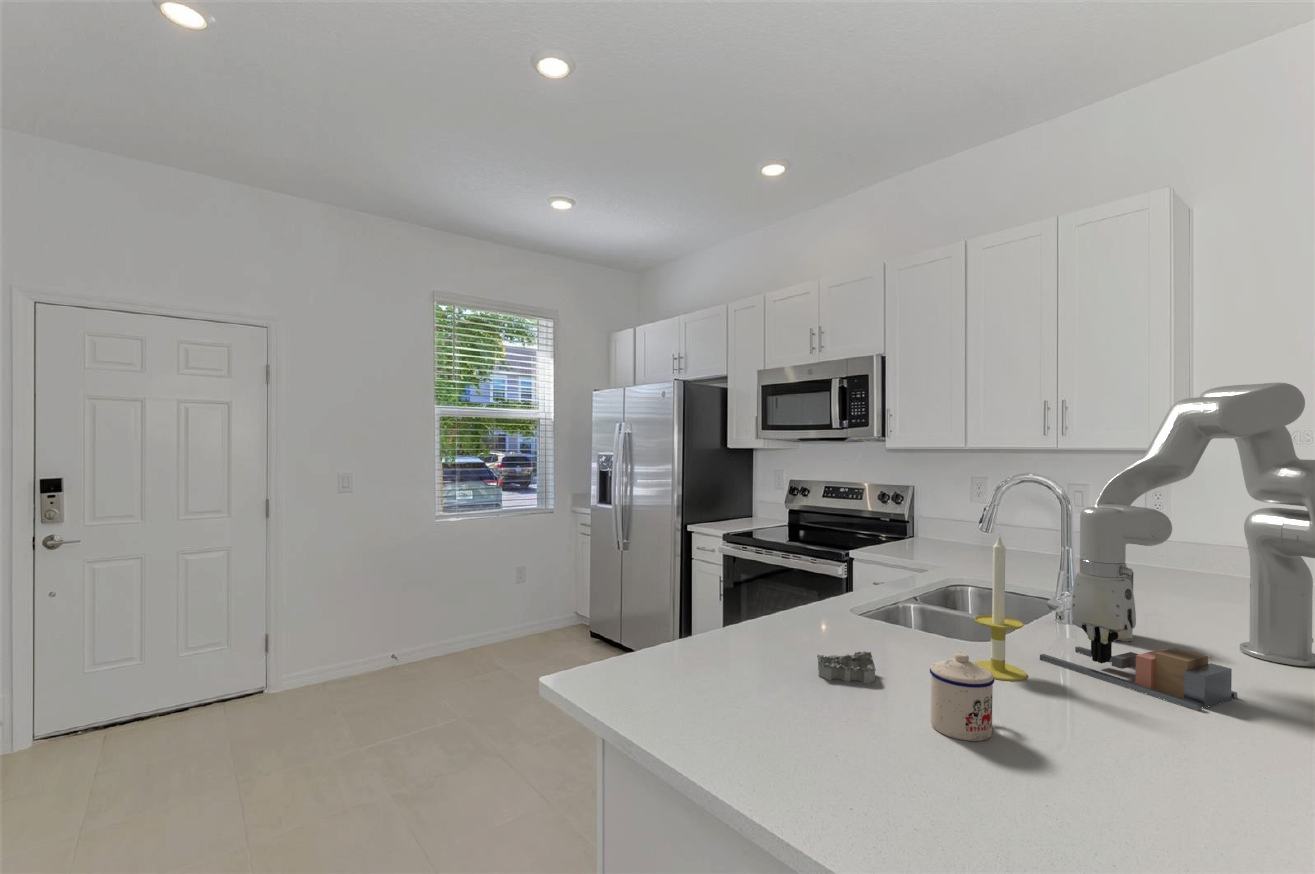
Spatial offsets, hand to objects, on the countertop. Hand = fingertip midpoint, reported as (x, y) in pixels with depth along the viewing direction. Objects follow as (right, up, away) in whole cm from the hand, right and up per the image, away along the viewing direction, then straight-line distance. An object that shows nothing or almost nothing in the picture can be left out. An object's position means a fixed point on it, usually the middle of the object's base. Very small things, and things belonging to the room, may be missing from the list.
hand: (1101, 661), depth 126 cm
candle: (-22, -1, -3) cm, 22 cm away
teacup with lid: (-40, -1, -27) cm, 48 cm away
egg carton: (-53, -1, -6) cm, 53 cm away
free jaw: (+3, -1, -7) cm, 7 cm away
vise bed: (+2, -1, -5) cm, 6 cm away
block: (+6, -2, -12) cm, 14 cm away
